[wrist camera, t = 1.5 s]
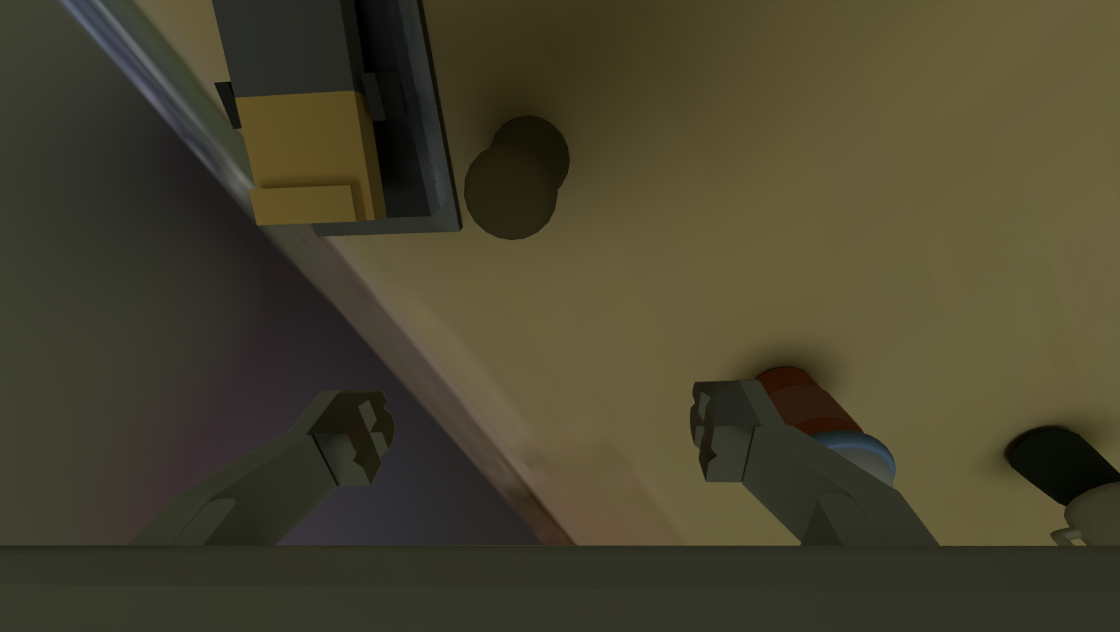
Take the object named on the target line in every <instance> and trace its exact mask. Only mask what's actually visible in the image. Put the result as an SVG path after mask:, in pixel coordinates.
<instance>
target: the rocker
mask: <svg viewBox="0 0 1120 632" xmlns="http://www.w3.org/2000/svg"><path fill="white" fill-rule="evenodd" d="M212 2H213V7H214V11H215V15H216V20H217V24H218V28H219V32H220V37H221V41H222V45H223V49H224V54H225V58H226V62H227V67H228V71H229V75H230V79H231V84H232V88H233V92H234V97H235V101H236V105H237V109H238V114H239V118H240V122H241V126H242V131H243V135H244V139H245V144H246V148H247V152H248V156H249V161H250V165H251V169H252V173H253V178H254V182H255V186H256V189H250V190H249V193H250V197H251V201H252V205H253V210H254V214H255V218H256V222H257V225H279V224H305V223H332V222H357V221H365V220H378V219H386V218H387V215H386V208H385V202H384V195H383V189H382V182H381V175H380V169H379V162H378V156H377V149H376V143H375V136H374V129H373V123H372V116H371V112H370V108H369V104H368V101H367V97H366V93H365V89H364V85H363V81H362V78H361V74H360V73H365V70H364V64H363V57H362V51H361V44H360V38H359V31H358V24H357V18H356V11H355V5H354V0H212Z"/></svg>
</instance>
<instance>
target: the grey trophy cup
mask: <svg viewBox="0 0 1120 632" xmlns="http://www.w3.org/2000/svg"><path fill="white" fill-rule="evenodd" d="M1009 463H1010V465H1011V467H1012V468H1014V469H1015V470H1016V471H1017V472H1018V473H1020V474H1021V475H1022V476H1023V477H1025V478H1026V479H1027V480H1028V481H1029V482H1031V483H1032V484H1033V485H1035V486H1036V487H1037V488H1039V489H1040V490H1042V491H1043V492H1044V493H1046V494H1047V495H1048V496H1050V497H1051V498H1052V499H1054V500H1055V501H1056V502H1058V503H1059V504H1062V505H1064V506H1066V507H1065V512H1064V517H1065V519H1066V522H1067V524H1068V525H1069V527H1068V528H1064V529H1060V530H1056V531H1053V532H1052V533H1050V536H1051V538H1052V539H1053V540H1054V541H1055V542H1056V543H1057V544H1058V545H1059V546H1075V545H1073V544H1072V543H1071V541H1070V540H1072V539H1077V538H1080V539H1081V540H1082V541H1083V542H1084V543H1085V544H1086V545H1087V546H1120V473H1119V472H1118V471H1117V470H1116V469H1115V468H1114V467H1113V466H1111V465H1110V464H1109V463H1108V462H1107V461H1106V460H1105V459H1104V458H1103V457H1102V456H1101V455H1100V454H1099V453H1098V452H1097V451H1096V450H1095V449H1094V448H1093V447H1092V446H1091V445H1090V444H1089V443H1087V442H1086V441H1085V440H1084V439H1083V438H1082V437H1081V436H1080V435H1078V434H1076V433H1073V432H1070V431H1068V430H1048V431H1044V432H1041V433H1037V434H1034V435H1032V436H1030V437H1029V438H1027V439H1026V440H1024V441H1023V442H1021V443H1020V444H1019V445H1018V446H1017V447H1016V449H1015V450H1014V451H1013V452H1012V454H1011V457H1010V461H1009Z"/></svg>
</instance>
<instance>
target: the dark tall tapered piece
mask: <svg viewBox="0 0 1120 632" xmlns="http://www.w3.org/2000/svg"><path fill="white" fill-rule="evenodd" d="M569 162H570V159H569V151H568V146H567V144H566V142H565V140H564V138H563V135H562V134H561V133H560V132H559V131H558V130H557V129H556V127H555V126H554V125H553V124H551V123H549V122H547V121H546V120H544V119H542V118H538V117H533V116H523V117H517V118H514V119H512V120H510V121H509V122H507V123H505V124H504V125H503V126H502V127H501V128H500V129H499V130H498V132H497V133H496V134H495V136H494V139H493V141H492V144H491V146H490V148H489V149H487V150H485V151H483V152H482V153H480V154H479V156H478V157H477V158H476V159H475V160H474V161H473V162H472V164H471V165H470V167H469V170H468V172H467V175H466V177H465V189H464V197H465V201H466V205H467V208H468V211H469V212H470V214H471V216H472V217H473V219H474V221H475V222H476V223H477V224H478V225H479V226H480V227H481V228H482V229H484V230H485V231H486V232H488V233H490V234H492V235H494V236H496V237H498V238H503V239H508V240H516V239H524V238H526V237H529V236H531V235H533V234H535V233H537V232H538V231H540V230H541V229H542V228H543V227H544V226H545V225H546V224H547V223H548V222H549V220H550V218H551V216H552V214H553V212H554V210H555V206H556V200H557V194H558V192H557V190H558V189H559V187H560V186H561V185H562V183H563V181H564V179H565V178H566V176H567V174H568V168H569Z"/></svg>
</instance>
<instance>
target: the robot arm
mask: <svg viewBox="0 0 1120 632" xmlns="http://www.w3.org/2000/svg"><path fill="white" fill-rule="evenodd" d="M692 395H693V398H694V401H695V404H694V405H693V406H692V407H691V410H690V429H691V434H692V439H693V442H694V445H695V446H696V447H698V448H699V449H700V453H699V462H700V465H701V468H702V471H703V474H704V478H705V481H706V482H743V483H742V484H743V485H744V486H745V487H746V488H747V489H748V490H749V491H750V492H751V493H752V494H753V495H754V496H755V497H756V498H757V499H758V500H759V501H760V502H761V503H762V504H763V505H764V506H765V507H766V508H767V509H768V510H769V511H770V512H771V513H772V514H773V515H774V516H775V517H776V518H777V519H778V520H779V521H780V522H781V523H782V524H783V525H784V526H785V527H786V528H787V529H788V530H789V531H790V532H791V533H792V534H793V535H794V536H795V537H796V538H797V539H798V540H799V541H800V542H801V545H800V546H460V545H459V546H458V545H457V546H455V545H454V546H452V545H449V546H446V545H444V546H442V545H441V546H438V545H436V546H435V545H433V546H431V545H428V546H427V545H426V546H425V545H419V546H418V545H416V546H414V545H411V546H410V545H399V546H398V545H397V546H395V545H390V546H388V545H367V546H366V545H359V546H358V545H353V546H352V545H349V546H348V545H343V546H342V545H336V546H335V545H323V546H322V545H308V546H307V545H306V546H305V545H297V546H296V545H283V546H282V545H275V544H276V543H277V542H279V541H280V540H281V539H282V538H283V537H284V536H285V535H286V534H288V533H289V532H290V531H291V530H292V529H293V528H294V527H295V526H296V525H298V524H299V523H300V522H301V521H302V520H303V519H304V518H305V517H307V516H308V515H309V514H310V513H311V512H312V511H313V510H314V509H315V508H317V507H318V506H319V505H320V504H321V503H322V502H323V501H324V500H326V498H328V497H329V496H330V495H331V494H332V493H333V492H335V491H336V490H337V489H338V486H362V485H371V483H372V481H373V479H374V477H375V476H376V473H377V471H378V469H379V468H380V466H381V461H380V456H381V455H382V454H384V453H385V452H386V451H388V450H389V448H390V446H391V444H392V441H393V437H394V432H395V428H394V420H393V418H392V415H391V414H390V413H389V412H388V411H386V410H385V409H384V406H385V404H386V403H387V401H386V399H385V396H384V394H383V392H381V391H378V390H356V391H354V390H353V391H351V390H349V391H348V390H345V391H344V390H343V391H324V392H322V393H320V394H319V395H318V396H317V397H316V398H315V400H314V401H313V402H312V404H311V405H310V406H309V407H308V408H307V409H306V411H305V412H304V413H303V414H302V416H301V417H300V418H299V419H298V420H297V421H296V423H295V424H294V425H293V426H292V428H291V429H290V430H289V431H288V432H287V434H286V435H284V436H278V437H276V438H274V439H273V440H271V441H269V442H268V443H266V444H264V445H262V446H261V447H259V448H257V449H255V450H254V451H252V452H250V453H249V454H247V455H245V456H243V457H242V458H240V459H238V460H237V461H235V462H233V463H231V464H230V465H228V466H226V467H224V468H223V469H221V470H219V471H218V472H216V473H214V474H212V475H211V476H209V477H207V478H205V479H204V480H202V481H200V482H199V483H197V484H195V485H193V486H192V487H190V488H188V489H186V490H185V491H183V492H181V493H180V494H178V495H176V496H174V497H173V498H172V499H171V500H170V501H169V502H168V503H167V504H166V505H165V506H164V507H163V508H162V509H161V510H160V512H159V513H158V514H157V515H156V516H155V517H154V518H153V519H152V520H151V521H150V522H149V523H148V524H147V525H146V526H145V527H144V528H143V529H142V530H141V531H140V532H139V533H138V534H137V535H136V537H135V538H134V539H133V540H132V541H131V542H130V543H129V544H128V545H51V546H50V545H38V546H37V545H5V546H4V545H0V632H1120V546H940V545H939V544H938V542H937V541H936V540H935V539H934V537H933V536H932V535H931V533H930V532H929V531H928V529H927V528H926V527H925V525H924V524H923V523H922V521H921V520H920V519H919V517H918V516H917V515H916V513H915V512H914V511H913V509H912V508H911V507H910V506H909V504H908V503H907V502H906V500H905V499H904V498H903V496H902V495H901V494H900V492H899V491H897V490H895V489H894V488H892V487H891V486H889V485H887V484H886V483H884V482H883V481H881V480H879V479H878V478H876V477H874V476H873V475H871V474H870V473H868V472H866V471H865V470H863V469H862V468H860V467H858V466H857V465H855V464H854V463H852V462H850V461H849V460H847V459H846V458H844V457H842V456H841V455H839V454H838V453H836V452H834V451H833V450H831V449H829V448H828V447H826V446H825V445H823V444H821V443H820V442H818V441H817V440H815V439H813V438H812V437H810V436H809V435H807V434H805V433H804V432H802V431H801V430H799V429H797V428H796V427H794V426H786V424H785V422H784V421H783V419H782V417H781V416H780V414H779V412H778V411H777V409H776V407H775V406H774V404H773V402H772V401H771V399H770V397H769V396H768V394H767V392H766V391H765V389H764V387H763V385H762V384H761V382H760V381H759V380H757V379H747V380H736V381H706V382H695V383H694V386H693V392H692Z"/></svg>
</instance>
